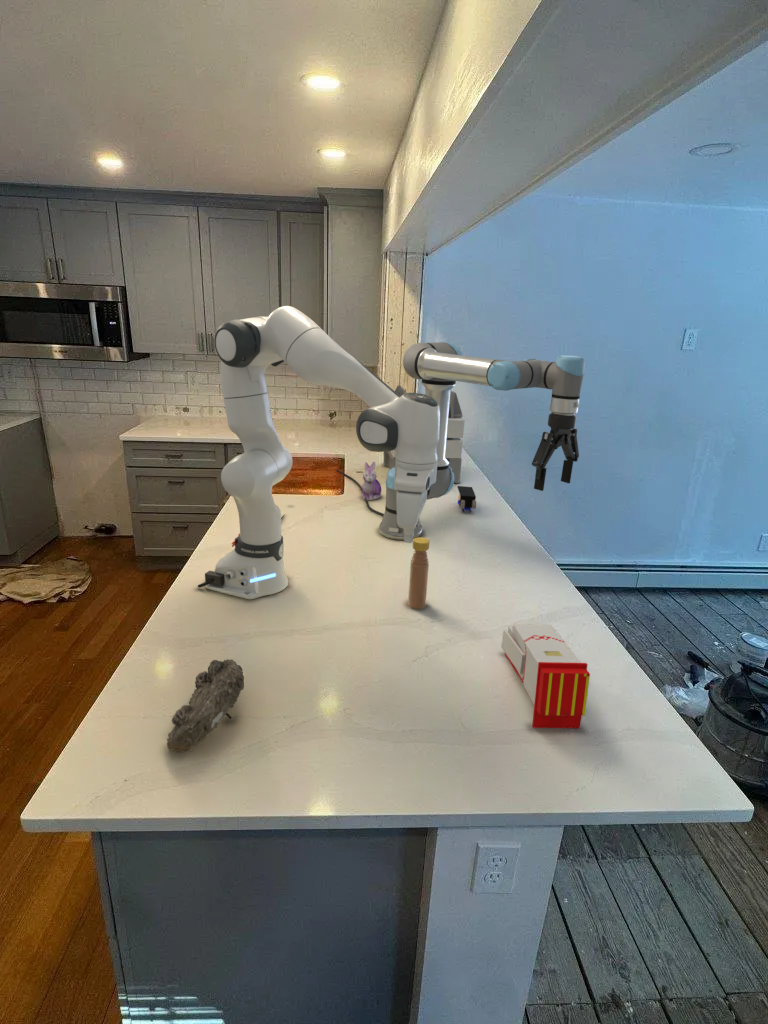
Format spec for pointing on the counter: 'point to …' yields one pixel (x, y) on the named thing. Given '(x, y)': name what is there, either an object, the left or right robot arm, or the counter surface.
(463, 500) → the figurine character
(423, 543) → the cap
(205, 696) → the fossil
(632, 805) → the counter surface
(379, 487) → the figurine
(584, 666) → the toy
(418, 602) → the bottle
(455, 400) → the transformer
